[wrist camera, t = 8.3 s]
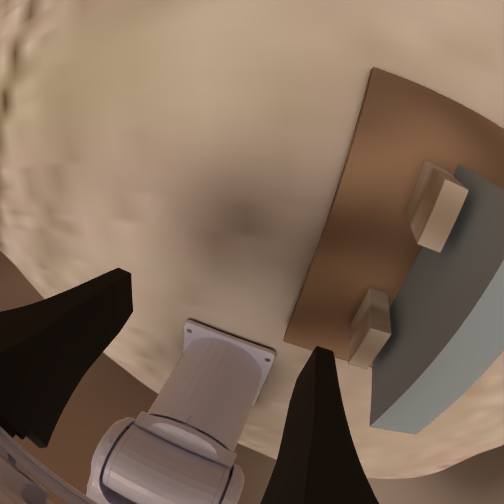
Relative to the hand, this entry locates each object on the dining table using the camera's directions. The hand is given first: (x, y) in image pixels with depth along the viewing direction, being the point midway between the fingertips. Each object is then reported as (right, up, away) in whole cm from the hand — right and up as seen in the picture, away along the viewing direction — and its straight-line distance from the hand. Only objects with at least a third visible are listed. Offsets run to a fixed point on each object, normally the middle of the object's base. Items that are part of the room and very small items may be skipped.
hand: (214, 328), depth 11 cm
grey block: (+12, +2, +4) cm, 13 cm away
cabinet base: (+12, +2, +6) cm, 14 cm away
